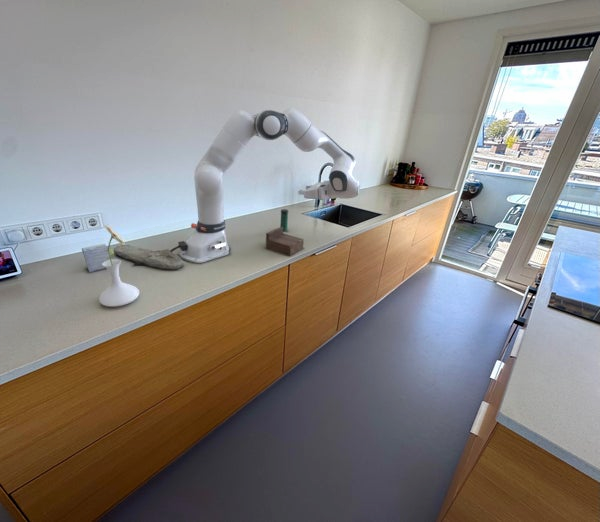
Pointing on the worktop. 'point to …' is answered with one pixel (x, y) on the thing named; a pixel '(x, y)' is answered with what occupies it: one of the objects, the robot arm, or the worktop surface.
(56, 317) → the worktop surface
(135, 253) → the long grey stone
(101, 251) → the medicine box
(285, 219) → the marker
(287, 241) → the stand
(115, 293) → the flower in vase
